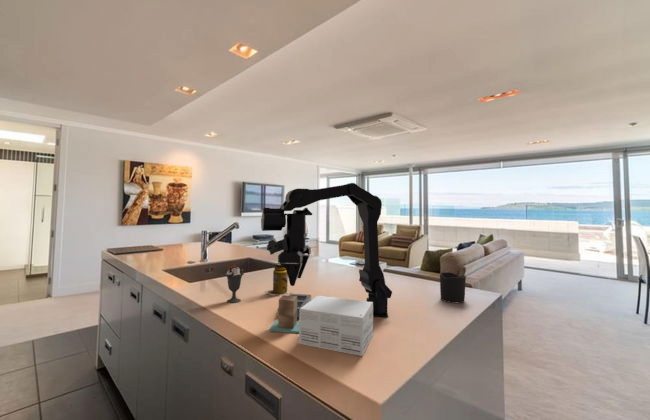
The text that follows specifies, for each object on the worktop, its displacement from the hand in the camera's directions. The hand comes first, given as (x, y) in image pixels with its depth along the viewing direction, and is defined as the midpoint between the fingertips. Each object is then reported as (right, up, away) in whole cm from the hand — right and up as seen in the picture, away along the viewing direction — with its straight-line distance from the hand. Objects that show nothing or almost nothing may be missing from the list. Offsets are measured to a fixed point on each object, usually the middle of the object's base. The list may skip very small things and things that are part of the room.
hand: (295, 281), depth 84 cm
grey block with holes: (-1, -13, +12) cm, 18 cm away
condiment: (-11, -13, +32) cm, 37 cm away
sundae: (-25, -13, +20) cm, 35 cm away
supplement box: (+12, -13, -10) cm, 20 cm away
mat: (-2, -13, -3) cm, 13 cm away
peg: (-2, -12, -3) cm, 12 cm away
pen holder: (+60, -15, +27) cm, 67 cm away
